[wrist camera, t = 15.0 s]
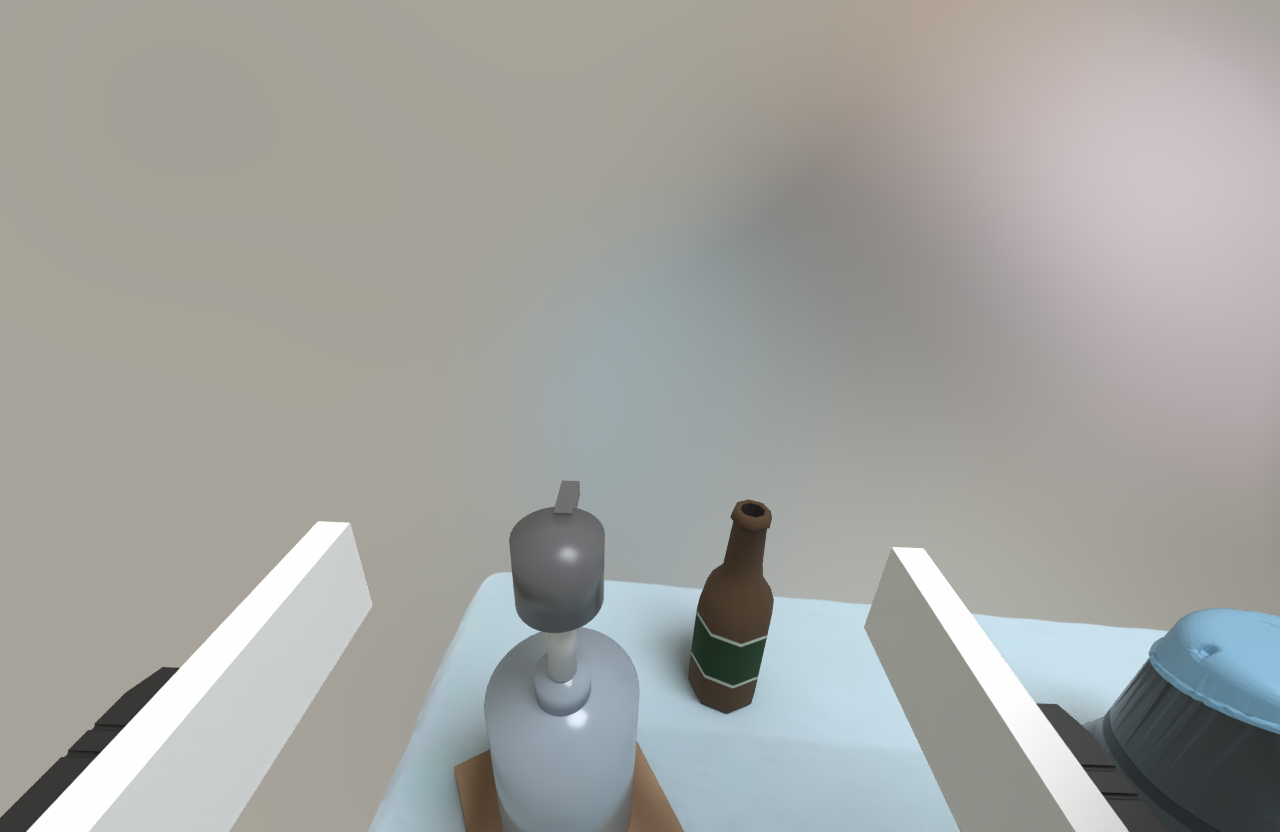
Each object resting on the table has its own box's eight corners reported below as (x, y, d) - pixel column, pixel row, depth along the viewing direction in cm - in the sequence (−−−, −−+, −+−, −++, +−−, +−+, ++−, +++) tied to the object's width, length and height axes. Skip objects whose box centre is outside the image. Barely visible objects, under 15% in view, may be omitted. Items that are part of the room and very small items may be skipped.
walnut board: (610, 698, 53) (610, 691, 53) (695, 863, 41) (696, 855, 40) (455, 774, 46) (454, 767, 46) (502, 1001, 34) (500, 995, 33)
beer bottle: (673, 680, 56) (692, 506, 45) (715, 640, 61) (741, 475, 50) (730, 731, 51) (766, 550, 40) (770, 683, 56) (812, 510, 45)
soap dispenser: (599, 723, 50) (600, 591, 42) (654, 840, 41) (670, 703, 33) (488, 779, 45) (465, 642, 37) (525, 926, 36) (507, 788, 28)
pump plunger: (578, 601, 40) (576, 476, 35) (622, 681, 34) (628, 545, 29) (503, 630, 38) (488, 499, 32) (537, 722, 31) (526, 580, 26)
